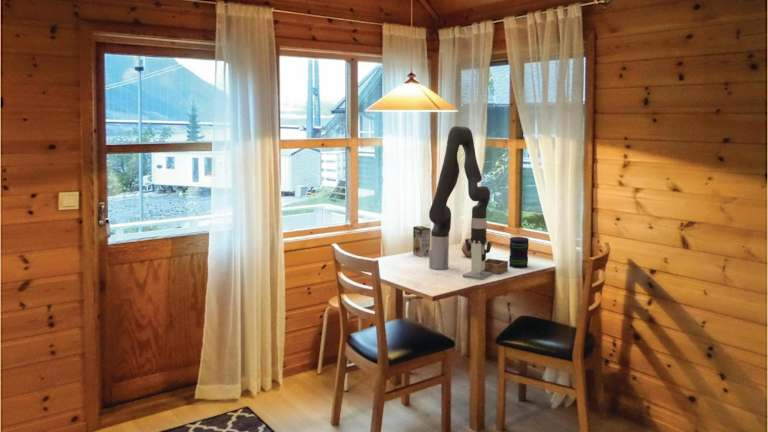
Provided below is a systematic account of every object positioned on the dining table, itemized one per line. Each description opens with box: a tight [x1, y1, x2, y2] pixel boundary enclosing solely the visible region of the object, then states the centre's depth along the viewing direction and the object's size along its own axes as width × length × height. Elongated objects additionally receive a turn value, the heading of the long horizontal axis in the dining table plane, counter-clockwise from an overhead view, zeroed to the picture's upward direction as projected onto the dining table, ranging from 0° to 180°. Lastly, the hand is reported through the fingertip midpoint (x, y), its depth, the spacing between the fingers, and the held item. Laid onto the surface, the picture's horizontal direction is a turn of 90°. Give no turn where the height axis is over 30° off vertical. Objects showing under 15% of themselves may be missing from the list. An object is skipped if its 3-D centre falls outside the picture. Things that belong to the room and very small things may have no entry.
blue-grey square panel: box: [462, 270, 493, 281], centre depth 331 cm, size 10×12×1 cm
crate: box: [483, 258, 509, 275], centre depth 340 cm, size 11×11×5 cm
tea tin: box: [470, 243, 487, 271], centre depth 329 cm, size 5×5×14 cm
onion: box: [461, 242, 472, 258], centre depth 375 cm, size 10×9×10 cm
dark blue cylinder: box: [508, 236, 530, 269], centre depth 351 cm, size 10×10×15 cm
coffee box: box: [412, 225, 431, 258], centre depth 378 cm, size 9×6×16 cm
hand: (478, 260), depth 329 cm, fingers closed on tea tin, 5 cm apart
